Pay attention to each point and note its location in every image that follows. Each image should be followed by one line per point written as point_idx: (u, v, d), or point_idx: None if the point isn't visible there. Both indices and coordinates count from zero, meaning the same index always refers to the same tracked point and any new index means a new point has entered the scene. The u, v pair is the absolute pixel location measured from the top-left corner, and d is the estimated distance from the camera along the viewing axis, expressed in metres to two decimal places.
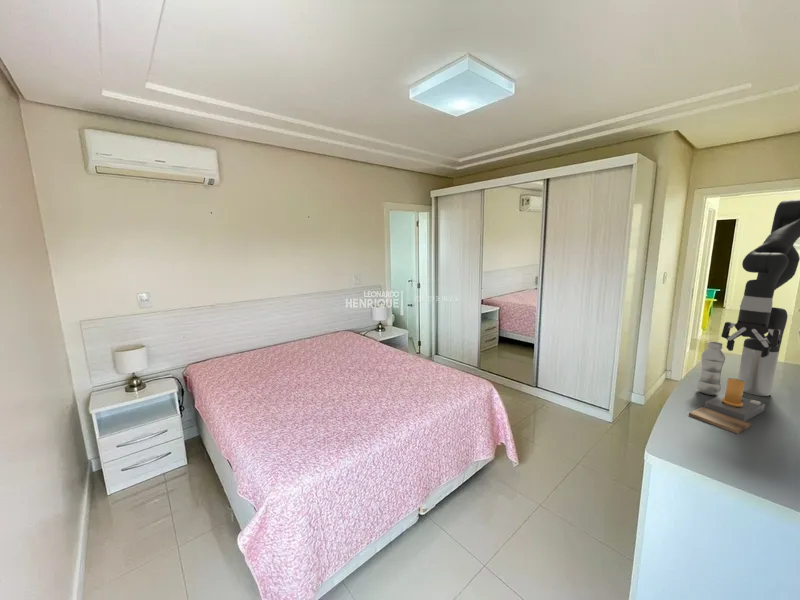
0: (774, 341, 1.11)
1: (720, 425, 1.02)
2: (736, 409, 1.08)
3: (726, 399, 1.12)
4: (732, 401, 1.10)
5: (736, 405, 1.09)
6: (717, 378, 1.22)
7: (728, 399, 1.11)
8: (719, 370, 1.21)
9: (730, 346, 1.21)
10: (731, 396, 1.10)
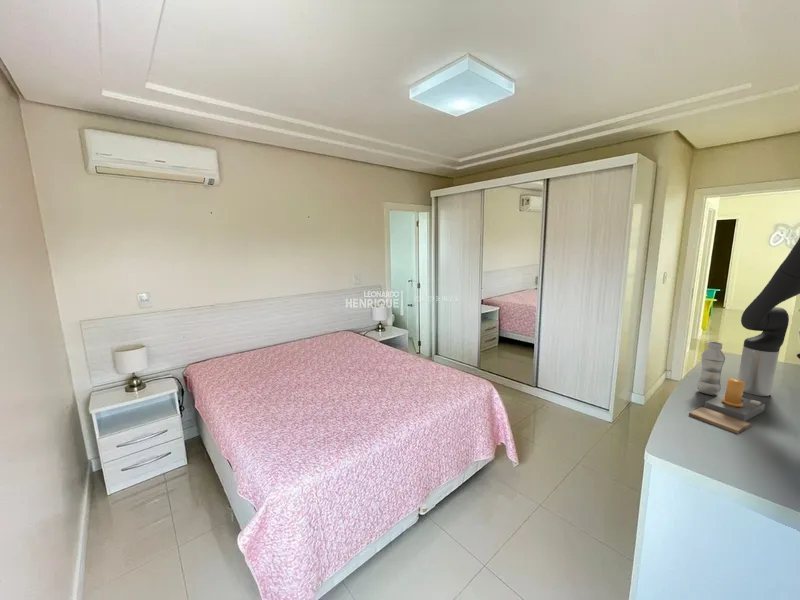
0: None
1: (720, 425, 1.02)
2: (736, 409, 1.08)
3: (726, 399, 1.12)
4: (732, 401, 1.10)
5: (736, 405, 1.09)
6: (717, 378, 1.22)
7: (728, 399, 1.11)
8: (719, 370, 1.21)
9: None
10: (731, 396, 1.10)
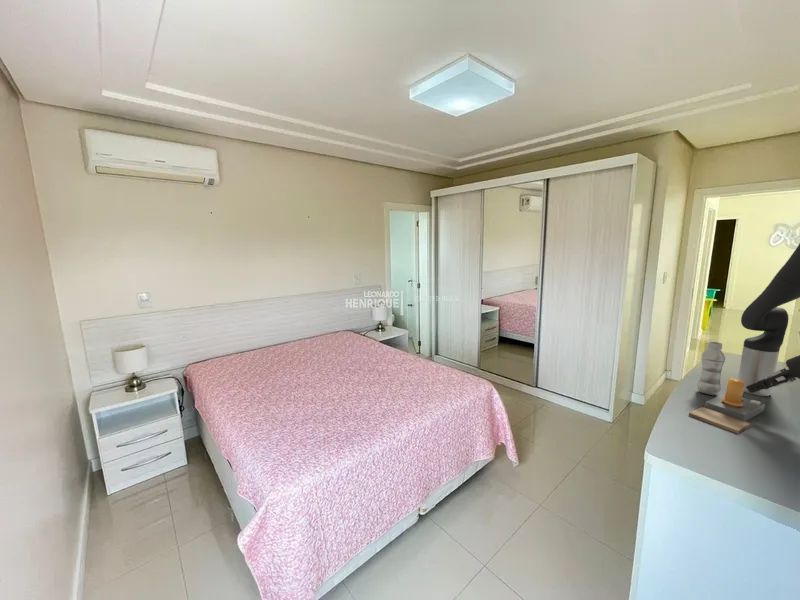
0: None
1: (720, 425, 1.02)
2: (736, 409, 1.08)
3: (726, 399, 1.12)
4: (732, 401, 1.10)
5: (736, 405, 1.09)
6: (717, 378, 1.22)
7: (728, 399, 1.11)
8: (719, 370, 1.21)
9: None
10: (731, 396, 1.10)
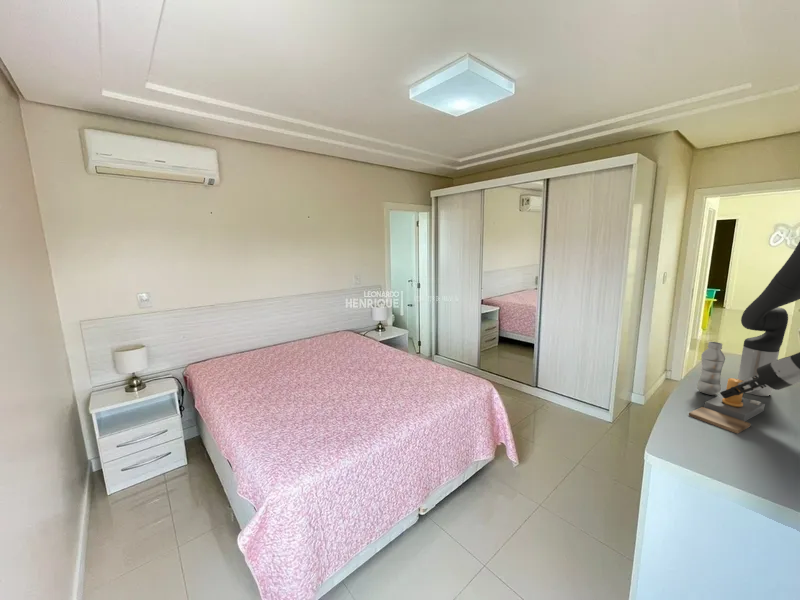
0: None
1: (720, 425, 1.02)
2: (736, 409, 1.08)
3: (726, 399, 1.11)
4: (732, 401, 1.10)
5: (736, 405, 1.09)
6: (717, 378, 1.22)
7: (728, 399, 1.11)
8: (719, 370, 1.21)
9: None
10: (731, 396, 1.10)
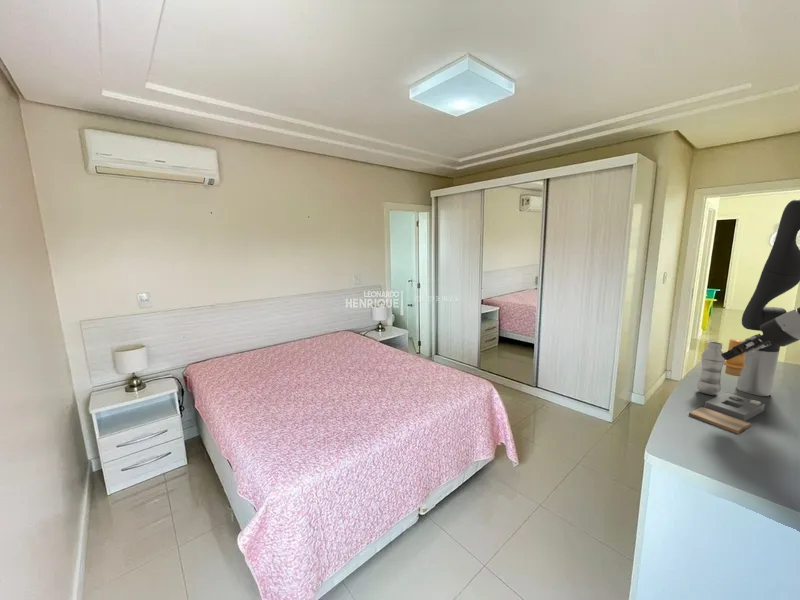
0: None
1: (720, 425, 1.02)
2: (736, 409, 1.08)
3: (728, 361, 1.05)
4: (734, 363, 1.03)
5: (739, 367, 1.03)
6: (717, 378, 1.22)
7: (730, 361, 1.04)
8: (719, 370, 1.21)
9: None
10: (733, 357, 1.03)
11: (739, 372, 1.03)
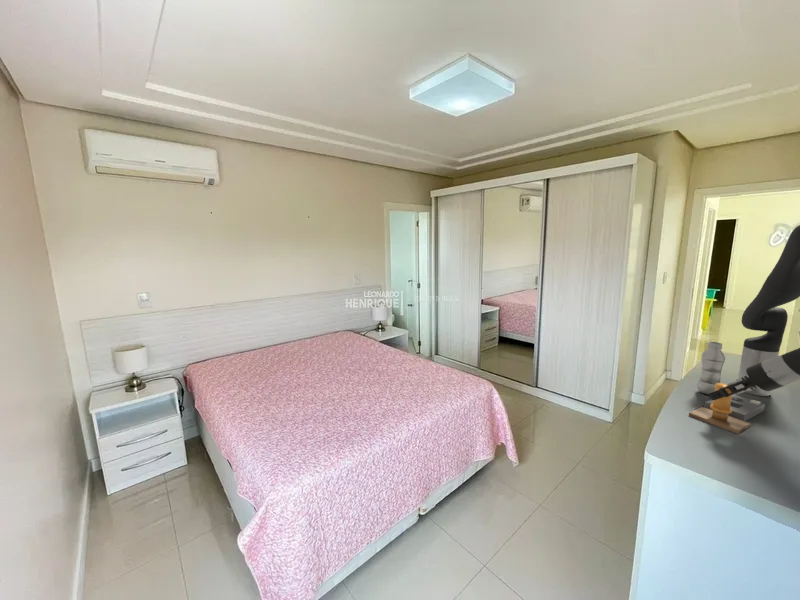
0: None
1: (720, 425, 1.02)
2: (736, 409, 1.08)
3: (714, 405, 1.05)
4: (720, 407, 1.04)
5: (725, 412, 1.03)
6: (717, 378, 1.22)
7: (716, 405, 1.05)
8: (719, 370, 1.21)
9: None
10: (719, 402, 1.04)
11: (726, 416, 1.04)
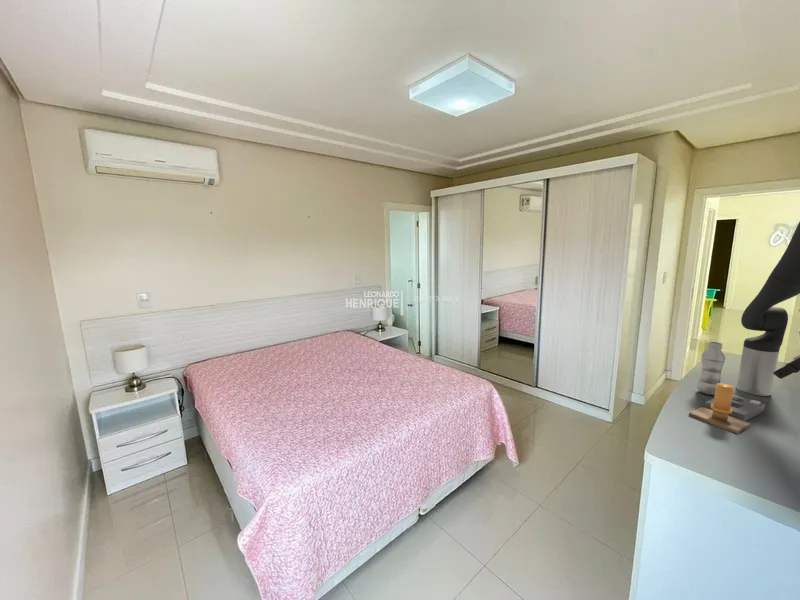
0: None
1: (720, 425, 1.02)
2: (736, 409, 1.08)
3: (715, 405, 1.05)
4: (721, 407, 1.04)
5: (725, 412, 1.03)
6: (717, 378, 1.22)
7: (717, 405, 1.04)
8: (719, 370, 1.21)
9: None
10: (720, 402, 1.04)
11: (726, 416, 1.04)
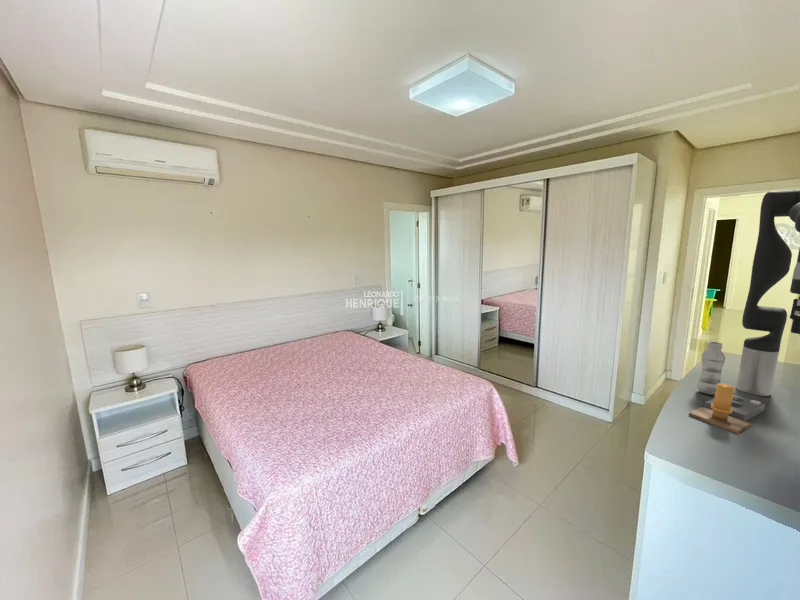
0: None
1: (720, 425, 1.02)
2: (736, 409, 1.08)
3: (715, 405, 1.05)
4: (721, 407, 1.04)
5: (725, 412, 1.03)
6: (718, 378, 1.22)
7: (717, 405, 1.04)
8: (719, 370, 1.21)
9: None
10: (720, 402, 1.04)
11: (726, 416, 1.04)
